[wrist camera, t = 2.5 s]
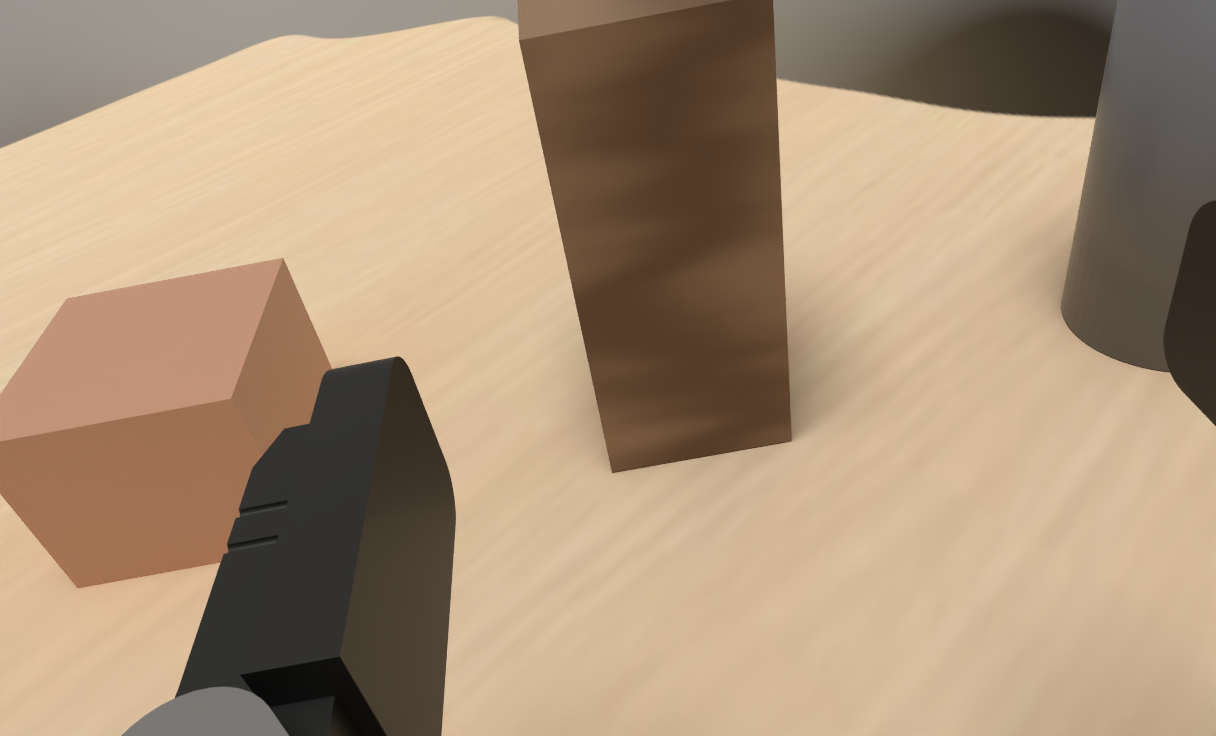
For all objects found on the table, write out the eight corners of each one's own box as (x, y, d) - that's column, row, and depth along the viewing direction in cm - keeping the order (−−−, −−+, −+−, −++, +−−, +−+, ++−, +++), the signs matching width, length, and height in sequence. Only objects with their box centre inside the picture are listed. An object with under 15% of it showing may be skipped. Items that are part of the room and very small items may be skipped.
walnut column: (612, 472, 23) (519, 40, 16) (597, 363, 27) (516, -27, 20) (791, 440, 23) (773, -8, 16) (752, 335, 26) (723, -67, 20)
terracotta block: (80, 591, 23) (-38, 448, 20) (152, 433, 28) (66, 298, 24) (312, 549, 23) (231, 398, 20) (344, 398, 27) (283, 258, 24)
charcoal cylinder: (1066, 365, 23) (1148, -41, 17) (1056, 260, 27) (1121, -107, 21) (1297, 380, 22) (1478, -64, 16) (1253, 267, 25) (1386, -131, 19)
